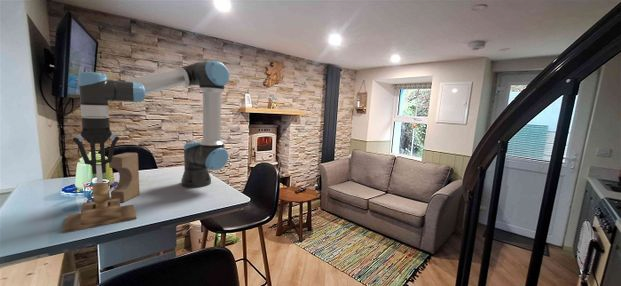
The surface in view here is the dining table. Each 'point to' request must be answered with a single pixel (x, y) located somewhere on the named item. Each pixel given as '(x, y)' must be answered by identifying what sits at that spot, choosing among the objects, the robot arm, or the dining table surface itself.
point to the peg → (101, 194)
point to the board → (77, 219)
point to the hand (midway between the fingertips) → (100, 182)
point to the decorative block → (126, 176)
